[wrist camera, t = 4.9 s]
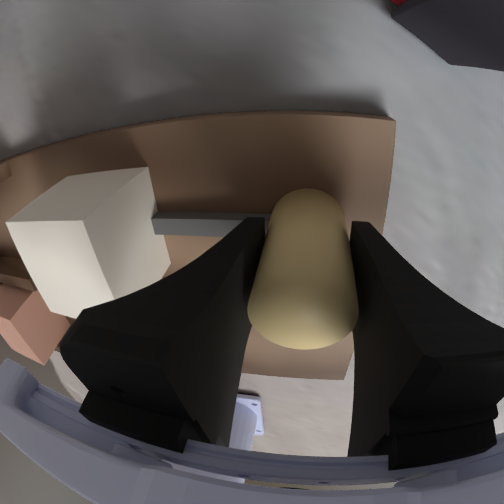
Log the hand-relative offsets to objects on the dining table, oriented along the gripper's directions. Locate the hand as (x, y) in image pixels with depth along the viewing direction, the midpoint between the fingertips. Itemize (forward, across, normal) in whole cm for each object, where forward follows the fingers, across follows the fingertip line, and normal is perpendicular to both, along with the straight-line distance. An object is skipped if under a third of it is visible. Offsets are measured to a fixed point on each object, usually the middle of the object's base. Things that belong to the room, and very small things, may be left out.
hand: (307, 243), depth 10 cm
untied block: (+2, +21, +8) cm, 22 cm away
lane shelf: (+3, +11, +4) cm, 12 cm away
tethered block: (+2, +5, 0) cm, 5 cm away
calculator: (+3, -7, -12) cm, 14 cm away
